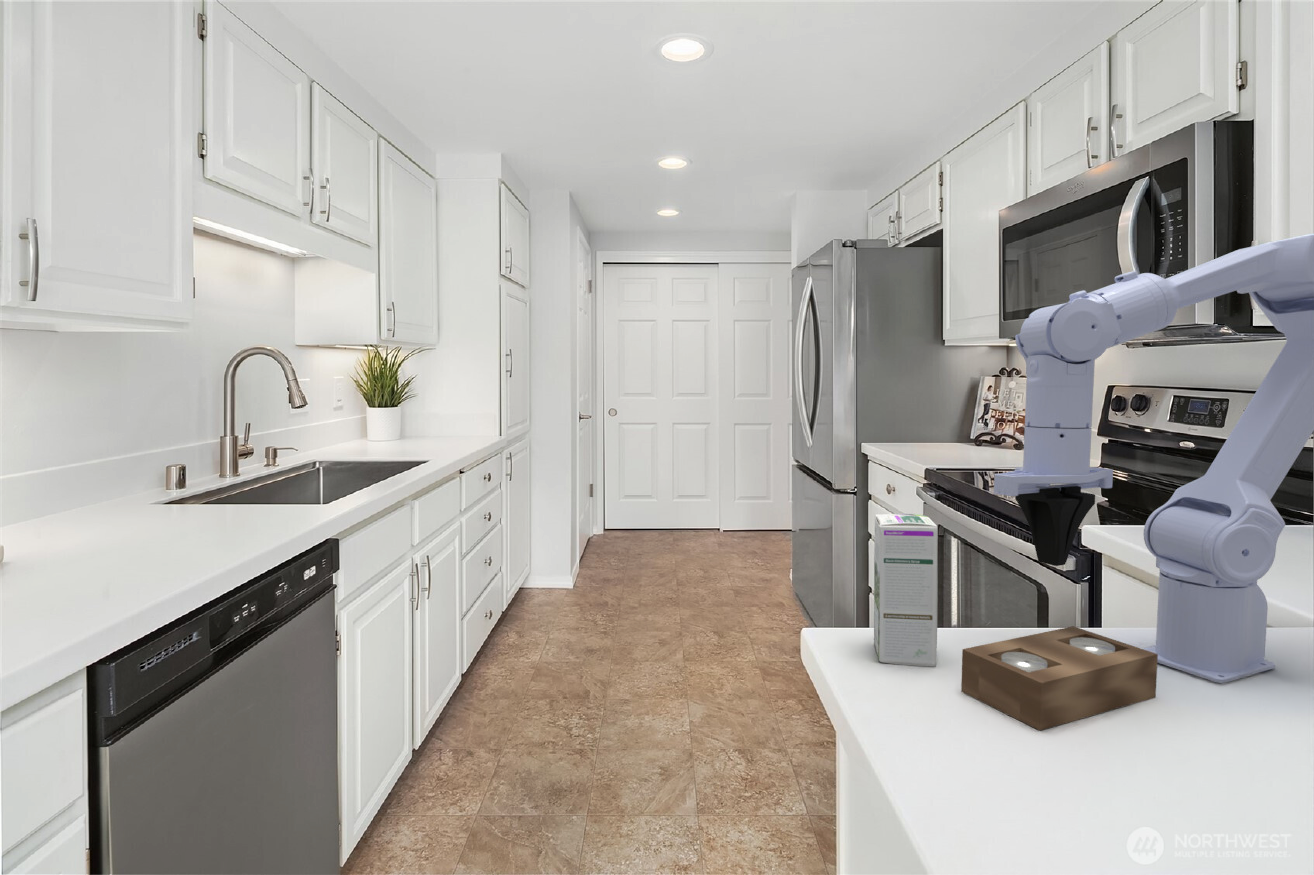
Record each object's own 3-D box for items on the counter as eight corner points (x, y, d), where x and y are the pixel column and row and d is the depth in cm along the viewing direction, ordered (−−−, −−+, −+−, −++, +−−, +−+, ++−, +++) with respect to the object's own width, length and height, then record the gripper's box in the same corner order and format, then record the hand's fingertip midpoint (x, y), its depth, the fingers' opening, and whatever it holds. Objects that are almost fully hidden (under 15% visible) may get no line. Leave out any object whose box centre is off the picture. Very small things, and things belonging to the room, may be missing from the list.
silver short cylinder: (1084, 673, 68) (1086, 635, 67) (1122, 688, 64) (1124, 647, 64) (1059, 679, 66) (1060, 640, 66) (1096, 695, 63) (1098, 654, 62)
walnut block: (1071, 665, 70) (1073, 626, 70) (1155, 697, 63) (1157, 654, 62) (961, 691, 64) (962, 649, 64) (1039, 730, 57) (1041, 682, 56)
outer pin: (1019, 689, 64) (1020, 649, 64) (1055, 706, 61) (1057, 663, 60) (990, 696, 62) (992, 655, 62) (1026, 714, 59) (1027, 670, 59)
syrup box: (938, 668, 69) (942, 524, 68) (876, 663, 71) (879, 522, 70) (927, 647, 75) (931, 514, 74) (870, 643, 76) (873, 512, 75)
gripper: (1069, 423, 75) (1063, 548, 76) (970, 426, 69) (965, 560, 70) (1136, 427, 69) (1129, 563, 69) (1033, 430, 63) (1027, 578, 64)
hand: (1051, 563), depth 69 cm, fingers closed
